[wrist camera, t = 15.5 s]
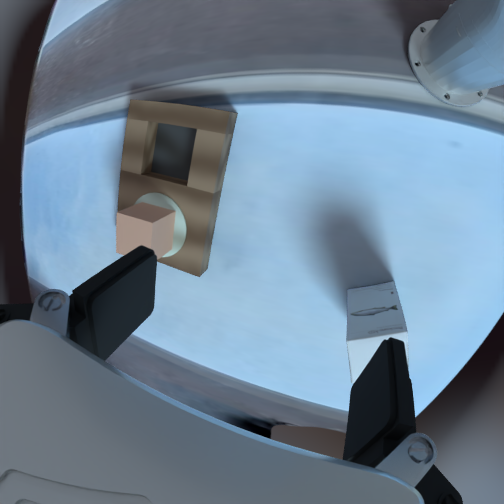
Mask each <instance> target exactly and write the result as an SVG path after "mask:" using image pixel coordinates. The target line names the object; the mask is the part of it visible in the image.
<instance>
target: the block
mask: <svg viewBox="0 0 504 504" xmlns="http://www.w3.org/2000/svg"><path fill="white" fill-rule="evenodd" d="M175 214H176V211H174V210H170V209H166V208H162V207H159V206H155V205H151V204H148V203H144V202H141V203H138V204H136V205H133V206H131V207H128V208H126V209H124V210H121V211H119V212H117V222H116V252H117V253H119V254H122V255H126V254H127V253H129V252H130V251H132V250H134V249H135V248H137V247H138V246H140V245H143V246H145V247H148V248H150V249H152V250H154V252H155V255H157V260H158V259H159V258H161V257H162V256H164V255H165V254H166V253H168V252H169V251H170V250H172V246H173V234H174V224H175Z"/></svg>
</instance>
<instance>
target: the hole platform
mask: <svg viewBox="0 0 504 504" xmlns="http://www.w3.org/2000/svg"><path fill="white" fill-rule="evenodd" d="M237 114H238V113H234V112H229V111H223V110H217V109H211V108H204V107H197V106H190V105H183V104H174V103H165V102H155V101H144V100H130V105H129V111H128V117H127V124H126V131H125V138H124V145H123V154H122V162H121V172H120V184H119V197H118V212H119V211H121V210H124V209H126V208H128V207H131V206H133V205H136V204H138V203H141V202H144V203H148V204H151V205H155V206H159V207H162V208H166V209H170V210H174V211H176V214H175V224H174V234H173V246H172V250H170V251H169V252H168V253H166V254H165V255H164V256H162V257H161V258H159V259H158V260H157V261H158V262H160V263H163V264H166V265H168V266H171V267H173V268H176V269H179V270H181V271H184V272H187V273H190V274H192V275H195V276H198V277H200V276H201V275H202V274H203V273H204V272H205V271H206V270H207V268H208V262H209V256H210V250H211V245H212V239H213V233H214V228H215V222H216V217H217V212H218V206H219V201H220V196H221V191H222V185H223V180H224V175H225V170H226V165H227V161H228V156H229V151H230V146H231V141H232V137H233V132H234V127H235V123H236V118H237Z"/></svg>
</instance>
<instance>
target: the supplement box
mask: <svg viewBox="0 0 504 504" xmlns="http://www.w3.org/2000/svg"><path fill="white" fill-rule="evenodd" d="M390 337H392V338H395V339H398V340H401V341H403V342H404V344H405V350H406V357H407V364H408V331H407V327H406V322H405V318H404V314H403V310H402V307H401V303H400V300H399V296H398V292H397V289H396V286H395V282H394V281H392V282H388V283H383V284H378V285H373V286H367V287H360V288H353V289H348V290H347V338H346V342H347V348H348V356H349V365H350V375H351V383H354V382H355V381H356V380H357V378H358V377H359V375H360V374H361V373H362V371H363V370H364V368H365V367H366V365H367V364H368V362H369V361H370V359H371V358H372V356H373V355H374V353H375V352H376V350H377V349H378V347H379V346H380V344H381V343H382V341H383V340H384V339H386V340H388V339H389V338H390Z"/></svg>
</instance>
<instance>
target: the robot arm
mask: <svg viewBox="0 0 504 504" xmlns="http://www.w3.org/2000/svg"><path fill="white" fill-rule="evenodd" d="M420 30H422V31H423V32H421V31H420ZM408 57H409V62H410V65H411V67H412V70H413V72H414V74H415V76H416V77H417V79H418V81H419V82H420V83H421V84H422V86H423V87H424V88H425V89H426V90H427V91H428V92H429V93H430V94H431V95H433V96H434V97H436V98H437V99H438V100H440V101H442V102H444V103H446V104H449V105H452V106H459V107H465V106H471V105H474V104H476V103H478V102H480V101H481V100H483V99H484V98H485V96H486V95H487V93H488V91H489V88H492V87H496V86H500V85H503V84H504V0H456V1H455V2H454V3H453V4H450V5H449V9H448V10H447V11H446V12H445V14H444V15H443V16H442V17H441V18H440V19H439V20H429V21H425V22H424V23H422V24H420V25H419V26H418V27H417V28H416V29H415V30H414V31H413V33H412V34H411V37H410V39H409V43H408ZM415 63H416V64H417V65H418V66H416V65H415ZM478 94H479V96H478ZM444 95H445V96H446V99H445V97H444ZM156 267H157V255H155V252H154V250H152V249H150V248H148V247H145V246H143V245H140V246H138V247H137V248H135V249H134V250H132V251H130V252H129V253H127V254H126V255H124V256H123V257H121V258H120V259H118V260H117V261H115V262H114V263H112V264H111V265H109V266H107V267H106V268H104V269H103V270H102V271H100V272H99V273H97V274H96V275H94V276H93V277H91V278H90V279H88V280H87V281H85V282H84V283H82V284H81V285H80V286H78V287H77V288H75V289H74V290H72V292H73V294H71V295H70V296H68V294H67V293H66V292H64V291H62V290H58V289H49V290H46V291H43V292H42V293H40V294H39V295H38V296H37V297H36V299H35V301H34V303H33V304H3V305H2V304H1V305H0V504H463V501H462V497H461V495H460V494H459V492H458V491H457V490H456V489H455V488H454V487H453V486H452V484H451V483H450V482H449V481H448V480H447V479H446V478H445V476H443V474H442V473H441V472H440V471H439V470H438V469H437V467H436V466H435V465H434V462H435V460H436V458H437V449H436V446H435V444H434V443H433V441H432V440H431V439H430V438H429V437H428V436H426V435H424V434H422V433H416V423H415V410H414V400H413V391H412V383H411V379H410V378H409V371H408V364H407V357H406V350H405V344H404V342H403V341H401V340H398V339H395V338H392V337H390V338H389V339H388V340H386V339H384V340H383V341H382V343H381V344H380V346H379V347H378V349H377V350H376V352H375V353H374V355H373V356H372V358H371V359H370V361H369V362H368V364H367V365H366V367H365V368H364V370H363V371H362V373H361V374H360V375H359V377H358V378H357V380H356V381H355V382H354V384H353V386H352V388H351V394H350V405H349V414H348V423H347V432H346V439H345V447H344V454H343V460H341V459H337V458H333V457H329V456H325V455H322V454H317V453H314V452H311V451H307V450H304V449H300V448H297V447H293V446H290V445H287V444H284V443H280V442H277V441H274V440H271V439H268V438H265V437H263V436H260V435H257V434H254V433H251V432H249V431H246V430H243V429H241V428H238V427H236V426H233V425H230V424H228V423H225V422H223V421H221V420H218V419H216V418H213V417H211V416H209V415H206V414H204V413H202V412H200V411H197V410H195V409H193V408H191V407H189V406H187V405H184V404H182V403H180V402H178V401H176V400H174V399H172V398H170V397H168V396H166V395H164V394H162V393H160V392H158V391H156V390H154V389H152V388H150V387H149V386H147V385H145V384H143V383H141V382H139V381H138V380H136V379H134V378H132V377H130V376H129V375H127V374H125V373H123V372H122V371H120V370H118V369H117V368H115V367H113V366H112V365H110V364H108V363H107V362H105V360H106V359H107V358H108V357H109V356H110V355H111V354H112V353H113V352H114V351H115V350H116V349H117V348H118V347H119V346H120V345H121V344H122V343H123V342H124V341H125V340H126V339H127V338H128V337H129V336H130V335H131V334H132V333H133V332H134V331H135V330H136V329H137V328H138V327H139V326H140V325H141V324H142V323H143V322H144V321H145V320H146V319H147V318H148V317H149V316H150V315H151V313H152V312H153V309H154V299H155V281H156Z"/></svg>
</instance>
